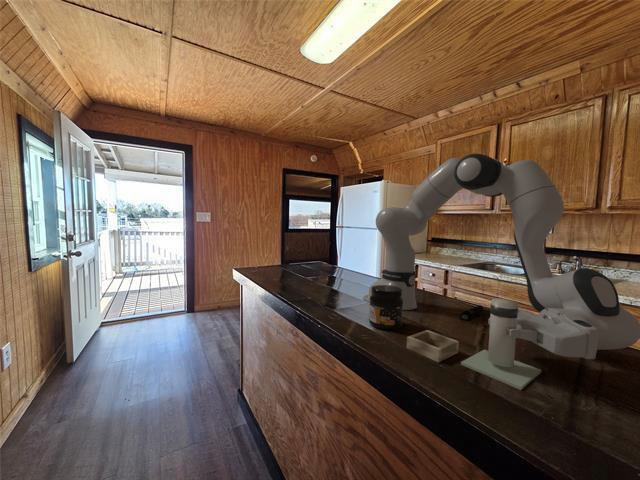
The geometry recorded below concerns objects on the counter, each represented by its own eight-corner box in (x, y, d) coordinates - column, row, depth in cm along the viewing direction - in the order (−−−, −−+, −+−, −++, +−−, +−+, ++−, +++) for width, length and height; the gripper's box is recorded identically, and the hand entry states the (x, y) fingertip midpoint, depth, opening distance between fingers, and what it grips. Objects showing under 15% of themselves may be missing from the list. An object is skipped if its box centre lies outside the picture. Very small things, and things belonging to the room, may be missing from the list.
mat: (460, 364, 65) (460, 362, 65) (484, 351, 72) (484, 349, 72) (520, 390, 55) (521, 387, 55) (541, 372, 62) (541, 369, 62)
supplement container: (364, 327, 87) (365, 289, 87) (373, 317, 97) (374, 283, 96) (398, 333, 83) (400, 294, 82) (404, 322, 92) (406, 287, 91)
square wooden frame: (406, 348, 73) (407, 336, 73) (426, 340, 78) (426, 329, 78) (438, 362, 66) (439, 350, 66) (458, 352, 71) (458, 341, 71)
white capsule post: (483, 359, 64) (486, 300, 63) (493, 354, 67) (496, 297, 66) (508, 369, 60) (513, 306, 59) (518, 363, 63) (522, 302, 62)
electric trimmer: (486, 314, 105) (486, 306, 105) (470, 322, 94) (470, 313, 94) (475, 311, 108) (475, 303, 107) (458, 319, 97) (459, 310, 97)
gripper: (525, 301, 74) (473, 300, 73) (606, 331, 53) (535, 330, 53) (523, 325, 74) (472, 324, 74) (603, 363, 54) (532, 362, 53)
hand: (499, 327), depth 63 cm, fingers closed on white capsule post, 5 cm apart
